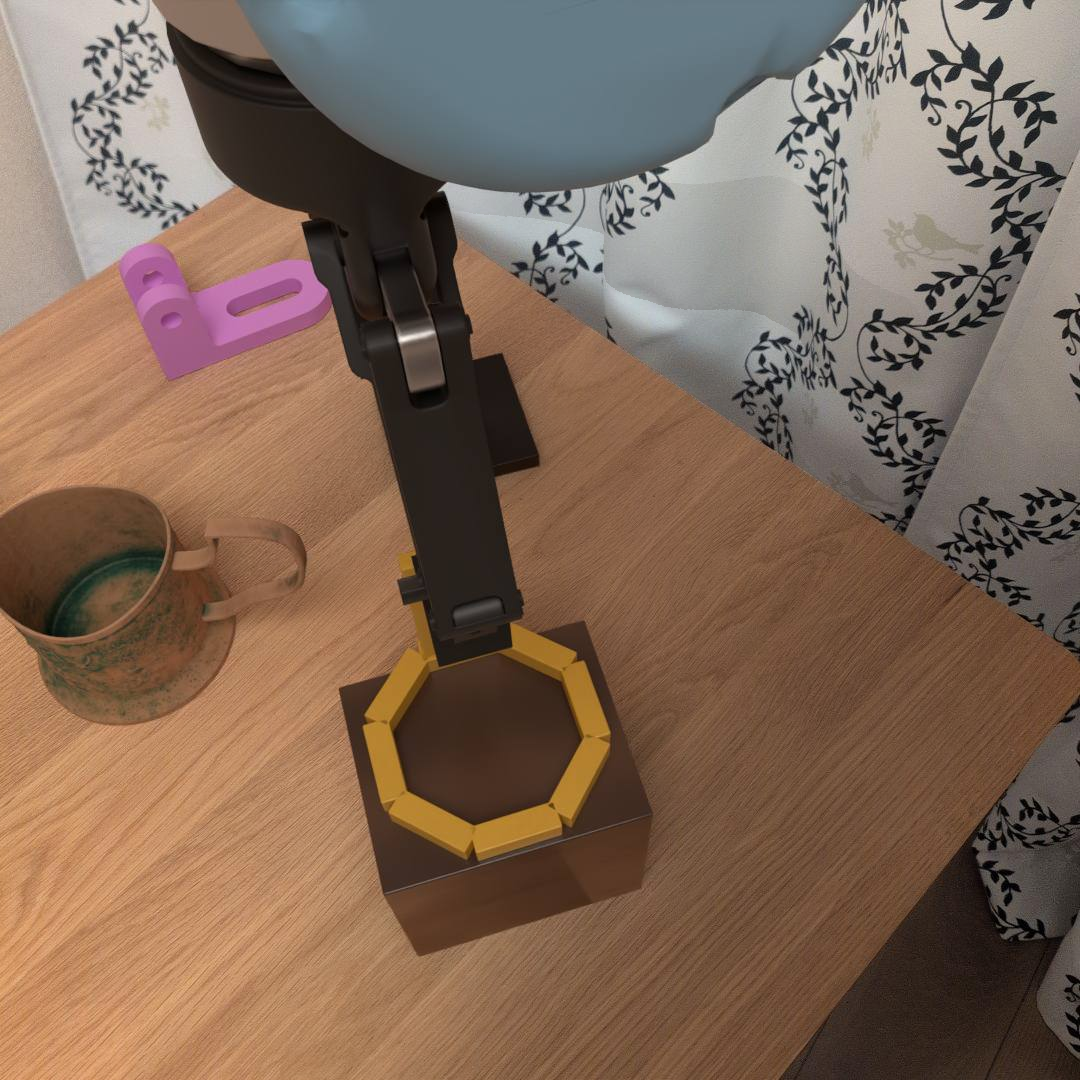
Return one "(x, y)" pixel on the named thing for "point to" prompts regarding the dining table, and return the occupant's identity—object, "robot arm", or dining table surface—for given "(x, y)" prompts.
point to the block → (499, 797)
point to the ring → (505, 829)
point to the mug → (124, 599)
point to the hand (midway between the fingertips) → (429, 496)
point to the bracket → (217, 308)
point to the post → (501, 414)
